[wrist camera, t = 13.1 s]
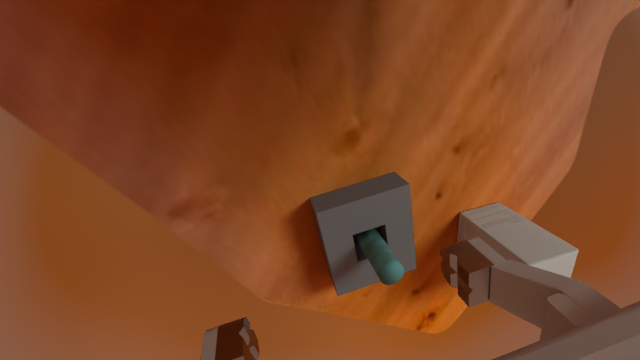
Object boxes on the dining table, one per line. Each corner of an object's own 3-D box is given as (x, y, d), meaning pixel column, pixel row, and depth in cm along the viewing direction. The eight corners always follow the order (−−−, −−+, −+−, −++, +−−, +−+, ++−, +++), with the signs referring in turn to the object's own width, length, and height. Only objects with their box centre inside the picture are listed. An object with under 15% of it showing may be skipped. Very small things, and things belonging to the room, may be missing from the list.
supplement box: (454, 249, 49) (518, 309, 37) (458, 211, 45) (529, 264, 34) (494, 238, 50) (566, 294, 38) (500, 200, 47) (582, 249, 35)
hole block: (394, 171, 40) (409, 183, 36) (403, 251, 46) (416, 268, 42) (309, 198, 38) (316, 213, 35) (330, 276, 45) (337, 295, 41)
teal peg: (369, 214, 42) (403, 260, 33) (372, 231, 43) (405, 279, 34) (349, 221, 41) (378, 268, 32) (352, 238, 43) (381, 288, 34)
